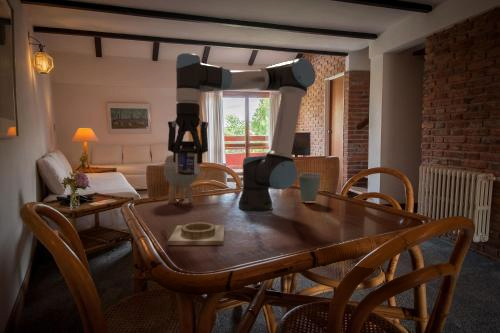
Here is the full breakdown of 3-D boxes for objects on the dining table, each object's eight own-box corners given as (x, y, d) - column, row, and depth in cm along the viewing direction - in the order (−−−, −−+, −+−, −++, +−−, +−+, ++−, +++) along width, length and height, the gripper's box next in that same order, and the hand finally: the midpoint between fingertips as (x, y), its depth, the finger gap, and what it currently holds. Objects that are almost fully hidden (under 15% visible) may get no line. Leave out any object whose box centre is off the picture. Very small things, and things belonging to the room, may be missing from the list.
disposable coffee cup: (297, 200, 158) (298, 170, 157) (319, 201, 157) (320, 171, 156) (298, 204, 148) (299, 173, 146) (321, 205, 146) (322, 173, 145)
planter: (182, 197, 162) (182, 154, 160) (205, 201, 153) (205, 155, 151) (157, 202, 149) (156, 155, 147) (180, 206, 140) (179, 156, 138)
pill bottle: (188, 175, 101) (188, 141, 100) (174, 174, 104) (174, 140, 103) (200, 174, 106) (200, 141, 105) (186, 172, 109) (186, 141, 108)
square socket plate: (224, 228, 107) (224, 220, 107) (223, 244, 92) (223, 234, 91) (177, 228, 107) (177, 220, 106) (167, 244, 91) (167, 234, 90)
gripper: (219, 104, 104) (218, 173, 106) (167, 104, 109) (167, 170, 111) (210, 101, 97) (209, 175, 99) (156, 102, 102) (156, 172, 104)
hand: (187, 172), depth 105 cm, fingers closed on pill bottle, 6 cm apart
